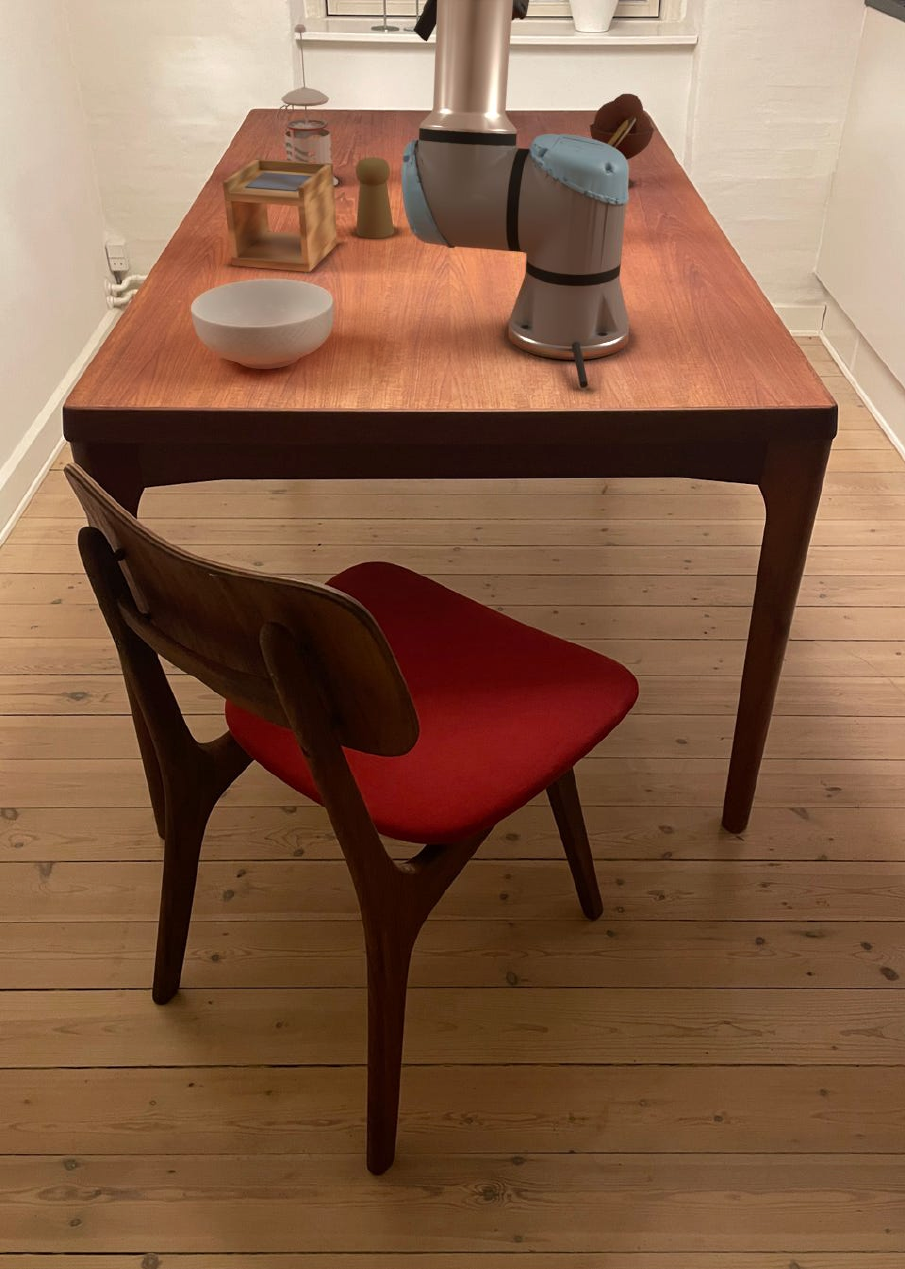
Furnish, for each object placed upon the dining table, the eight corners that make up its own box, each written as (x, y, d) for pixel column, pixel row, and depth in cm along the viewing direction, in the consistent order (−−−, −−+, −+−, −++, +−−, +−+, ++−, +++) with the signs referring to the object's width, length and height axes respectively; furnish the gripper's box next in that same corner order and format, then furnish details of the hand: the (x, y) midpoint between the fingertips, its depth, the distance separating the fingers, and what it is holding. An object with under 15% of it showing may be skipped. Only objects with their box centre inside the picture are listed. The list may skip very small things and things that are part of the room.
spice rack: (309, 272, 161) (303, 187, 154) (231, 265, 164) (222, 181, 156) (337, 244, 172) (332, 163, 164) (263, 238, 174) (256, 158, 167)
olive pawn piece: (350, 236, 174) (347, 162, 168) (362, 225, 179) (359, 152, 173) (388, 239, 173) (385, 165, 167) (398, 228, 178) (396, 155, 171)
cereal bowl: (339, 329, 144) (336, 275, 140) (334, 384, 131) (330, 325, 127) (207, 331, 143) (200, 276, 139) (188, 386, 130) (180, 327, 126)
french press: (312, 193, 193) (301, 31, 178) (264, 181, 199) (249, 23, 184) (349, 180, 200) (342, 23, 185) (302, 170, 205) (291, 16, 190)
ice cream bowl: (656, 181, 200) (666, 90, 191) (630, 196, 193) (639, 102, 184) (603, 172, 205) (611, 83, 196) (575, 186, 197) (582, 94, 188)
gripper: (596, -60, 157) (517, 81, 161) (482, -90, 171) (412, 41, 175) (570, -96, 151) (488, 52, 155) (454, -124, 165) (382, 12, 169)
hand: (447, 46), depth 165 cm, fingers open, 13 cm apart
